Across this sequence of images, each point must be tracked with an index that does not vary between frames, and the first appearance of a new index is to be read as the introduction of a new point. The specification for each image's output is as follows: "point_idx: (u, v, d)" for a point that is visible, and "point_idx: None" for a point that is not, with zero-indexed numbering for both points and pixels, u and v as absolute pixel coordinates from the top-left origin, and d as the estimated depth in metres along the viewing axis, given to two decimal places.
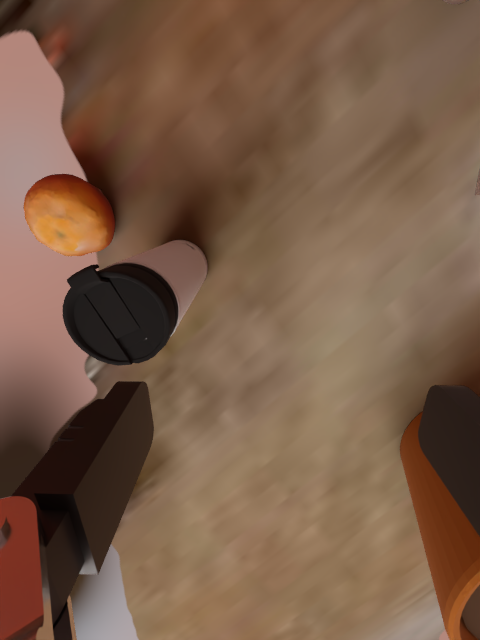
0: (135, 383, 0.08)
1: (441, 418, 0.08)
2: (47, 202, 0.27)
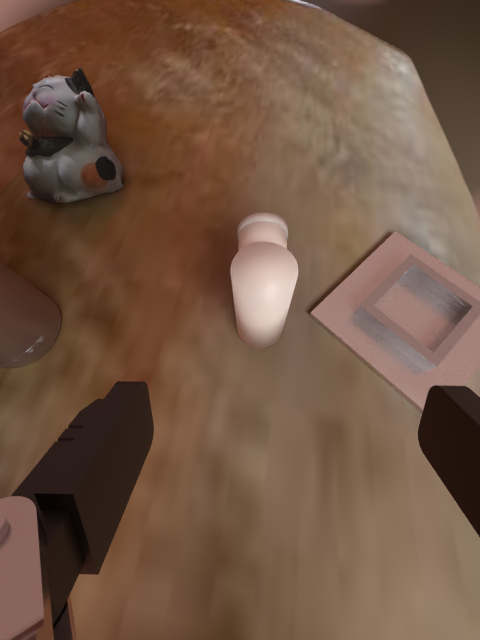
0: (135, 383, 0.08)
1: (441, 418, 0.08)
2: None
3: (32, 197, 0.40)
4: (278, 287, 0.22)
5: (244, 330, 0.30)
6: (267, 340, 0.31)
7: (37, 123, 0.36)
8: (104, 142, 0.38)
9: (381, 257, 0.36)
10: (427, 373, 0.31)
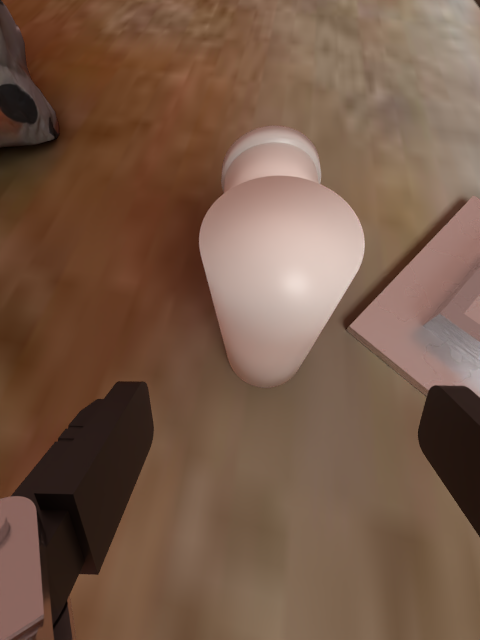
0: (135, 383, 0.08)
1: (441, 418, 0.08)
2: None
3: None
4: (318, 277, 0.09)
5: (238, 363, 0.16)
6: (280, 378, 0.17)
7: None
8: (13, 63, 0.24)
9: (457, 235, 0.23)
10: None
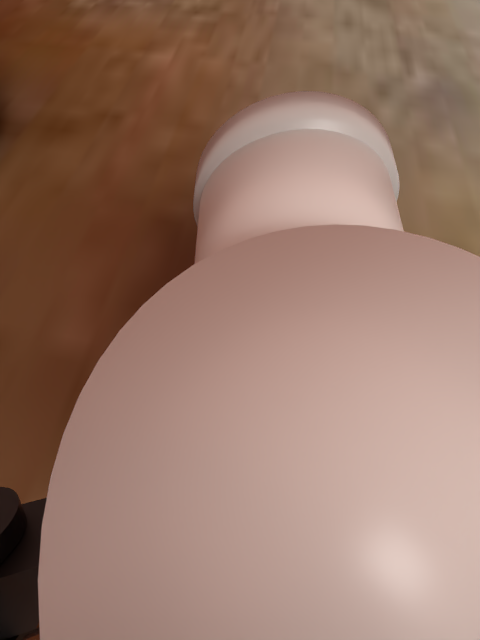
0: None
1: None
2: None
3: None
4: None
5: None
6: None
7: None
8: None
9: None
10: None
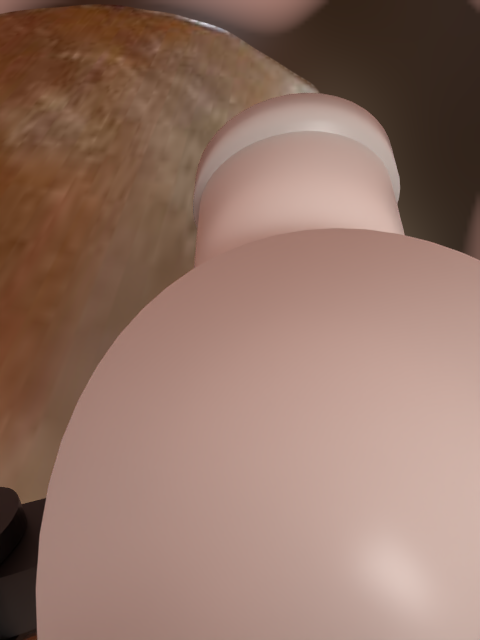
0: None
1: None
2: None
3: None
4: None
5: None
6: None
7: None
8: None
9: None
10: None
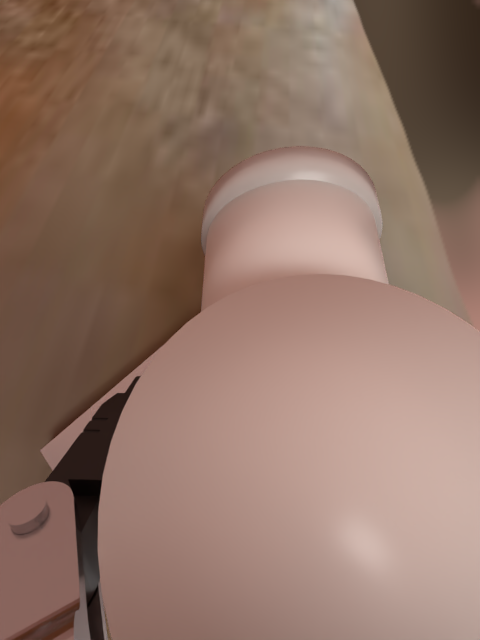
0: None
1: None
2: None
3: None
4: None
5: None
6: None
7: None
8: None
9: None
10: None
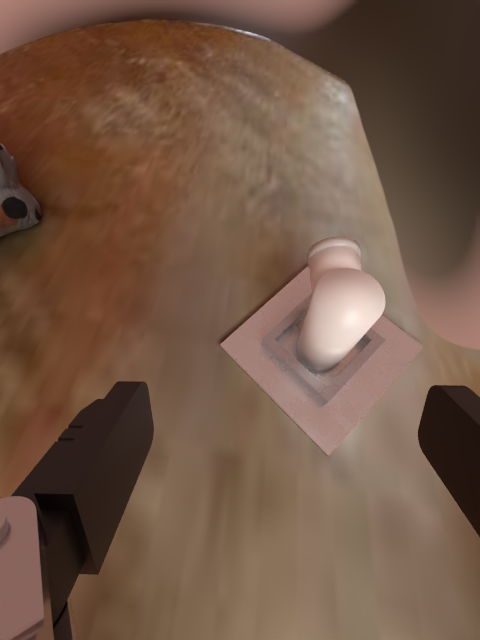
0: (135, 383, 0.08)
1: (441, 418, 0.08)
2: None
3: None
4: (366, 315, 0.22)
5: (312, 354, 0.29)
6: (333, 363, 0.30)
7: None
8: (11, 183, 0.40)
9: (295, 288, 0.37)
10: (325, 407, 0.31)
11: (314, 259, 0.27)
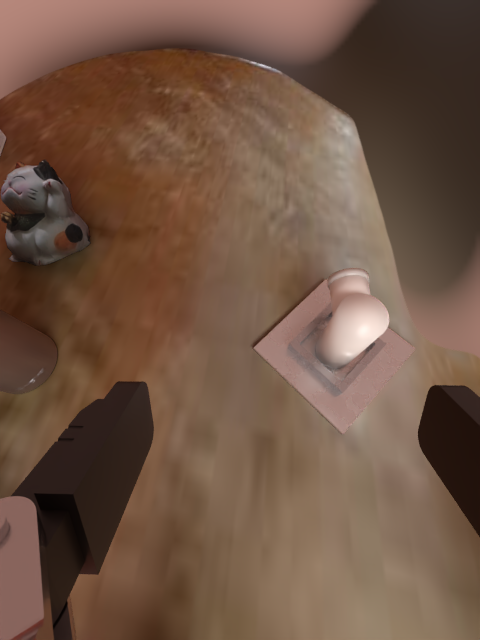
0: (135, 383, 0.08)
1: (441, 418, 0.08)
2: None
3: (15, 260, 0.48)
4: (375, 329, 0.30)
5: (330, 355, 0.38)
6: (346, 362, 0.39)
7: (14, 204, 0.45)
8: (70, 212, 0.47)
9: (313, 301, 0.45)
10: (339, 396, 0.40)
11: (334, 284, 0.35)
